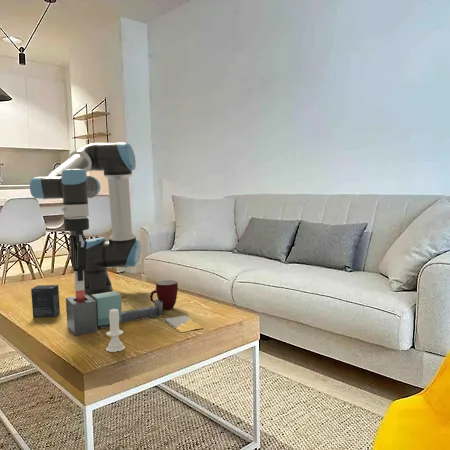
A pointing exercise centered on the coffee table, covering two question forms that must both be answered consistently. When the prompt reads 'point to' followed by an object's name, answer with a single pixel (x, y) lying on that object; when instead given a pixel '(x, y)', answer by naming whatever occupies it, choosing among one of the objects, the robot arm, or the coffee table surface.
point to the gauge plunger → (80, 295)
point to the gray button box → (81, 315)
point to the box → (45, 300)
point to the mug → (166, 293)
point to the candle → (114, 332)
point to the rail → (141, 313)
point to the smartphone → (177, 320)
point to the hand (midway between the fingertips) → (79, 290)
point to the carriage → (106, 306)
